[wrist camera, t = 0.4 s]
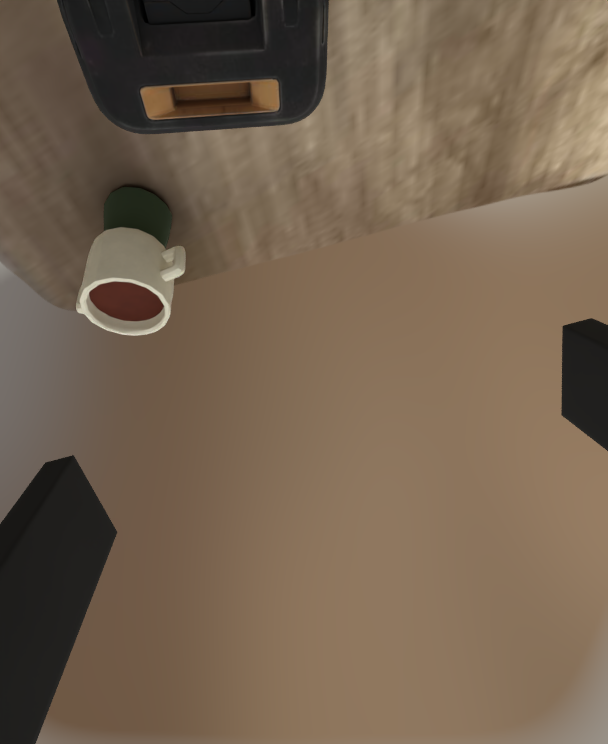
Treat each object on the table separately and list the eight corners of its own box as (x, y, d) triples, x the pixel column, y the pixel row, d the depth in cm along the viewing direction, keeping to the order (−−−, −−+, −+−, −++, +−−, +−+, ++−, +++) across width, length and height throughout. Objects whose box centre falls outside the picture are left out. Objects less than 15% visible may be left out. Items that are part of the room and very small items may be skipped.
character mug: (118, 255, 48) (103, 351, 40) (67, 203, 42) (38, 304, 35) (206, 218, 45) (206, 313, 38) (164, 157, 39) (155, 256, 32)
